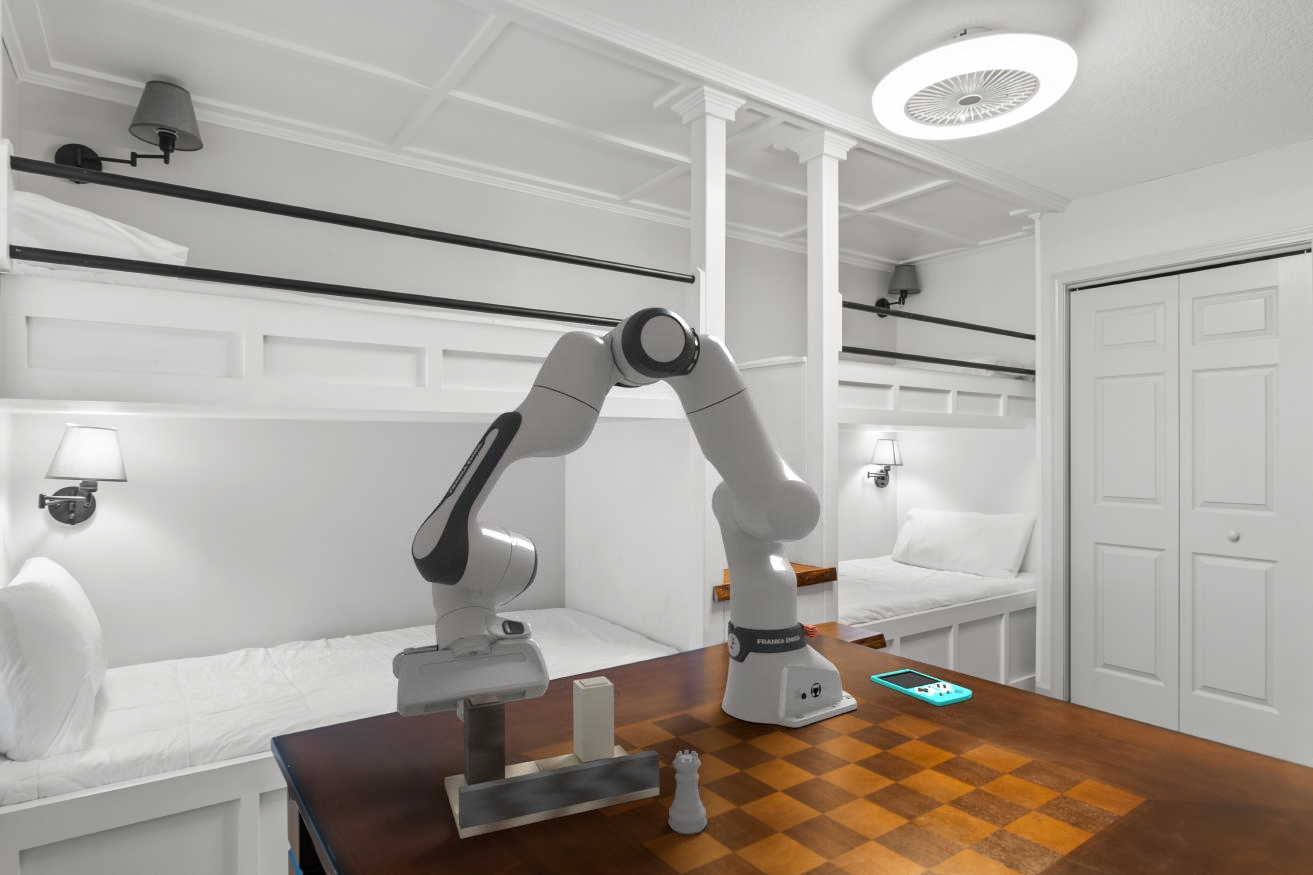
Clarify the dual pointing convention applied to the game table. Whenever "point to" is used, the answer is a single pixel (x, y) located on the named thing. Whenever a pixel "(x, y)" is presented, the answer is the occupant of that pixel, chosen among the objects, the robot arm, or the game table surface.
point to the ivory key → (593, 718)
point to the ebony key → (484, 739)
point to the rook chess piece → (687, 796)
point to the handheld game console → (923, 687)
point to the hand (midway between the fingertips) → (480, 734)
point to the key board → (551, 790)
